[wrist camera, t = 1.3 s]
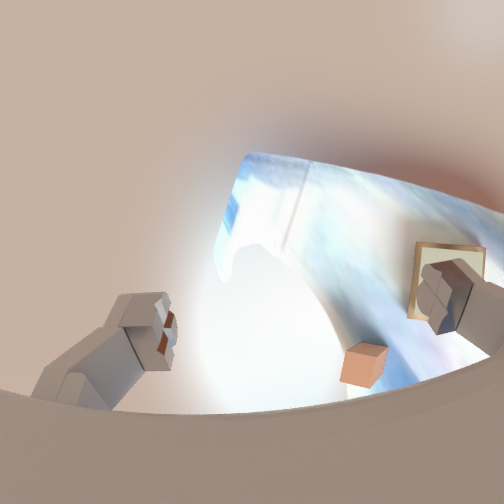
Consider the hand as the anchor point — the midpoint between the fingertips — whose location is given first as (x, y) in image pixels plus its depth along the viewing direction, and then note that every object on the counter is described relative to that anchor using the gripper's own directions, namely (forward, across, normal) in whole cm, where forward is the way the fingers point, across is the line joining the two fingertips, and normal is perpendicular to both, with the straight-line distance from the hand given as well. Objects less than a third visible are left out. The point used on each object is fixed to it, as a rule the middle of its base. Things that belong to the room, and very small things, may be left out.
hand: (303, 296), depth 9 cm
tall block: (+22, -15, +31) cm, 41 cm away
